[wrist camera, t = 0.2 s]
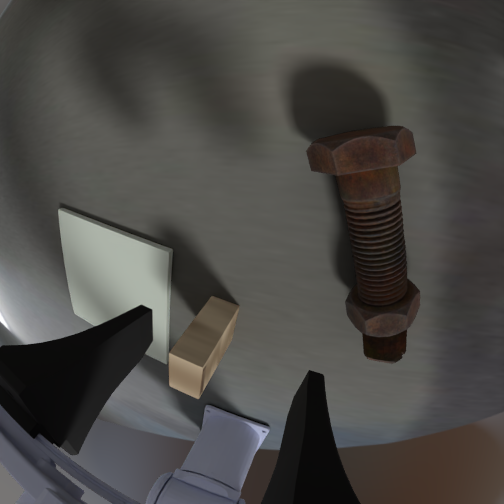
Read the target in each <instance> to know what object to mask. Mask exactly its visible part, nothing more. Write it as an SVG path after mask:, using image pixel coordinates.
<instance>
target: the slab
mask: <svg viewBox="0 0 504 504" xmlns="http://www.w3.org/2000/svg"><path fill="white" fill-rule="evenodd" d="M238 310H239V305H236V304H233V303H230V302H228V301H225V300H222V299H220V298H217V297H214V296H211V297H210V299H209V300H208V301H207V303H206V304H205V305H204V307H203V308H202V309H201V311H200V312H199V313H198V315H197V316H196V317H195V319H194V320H193V321H192V323H191V324H190V325H189V327H188V328H187V329H186V331H185V332H184V333H183V335H182V336H181V337H180V339H179V340H178V341H177V343H176V344H175V345H174V347H173V348H172V349H171V351H170V352H169V386H171V387H173V388H175V389H177V390H179V391H181V392H183V393H186V394H188V395H190V396H192V397H195V398H197V399H199V398H200V396H201V394H202V393H203V391H204V389H205V387H206V386H207V384H208V382H209V380H210V378H211V377H212V375H213V373H214V371H215V369H216V368H217V366H218V364H219V362H220V360H221V359H222V357H223V355H224V353H225V351H226V349H227V348H228V346H229V344H230V342H231V340H232V337H233V332H234V328H235V324H236V319H237V315H238Z"/></svg>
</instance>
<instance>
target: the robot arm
mask: <svg viewBox="0 0 504 504" xmlns="http://www.w3.org/2000/svg"><path fill="white" fill-rule="evenodd" d="M152 342H153V310H152V309H150V308H148V307H146V306H144V305H139V306H137V307H135V308H133V309H131V310H129V311H127V312H125V313H123V314H121V315H119V316H117V317H115V318H113V319H110V320H108V321H106V322H104V323H102V324H100V325H97V326H95V327H93V328H90V329H88V330H85V331H83V332H80V333H77V334H74V335H71V336H68V337H64V338H61V339H56V340H52V341H47V342H43V343H36V344H28V345H7V346H5V345H3V346H1V347H0V463H1V464H2V465H3V466H4V468H5V469H6V470H7V471H8V472H9V474H10V475H11V476H12V477H13V478H14V479H15V480H16V481H17V482H18V484H19V485H20V486H21V487H22V488H23V489H24V490H25V491H24V492H23V494H22V495H21V496H20V498H19V499H18V500H17V501H16V503H15V504H87V503H86V502H84V501H83V500H81V497H82V495H83V494H84V491H83V490H82V489H81V488H79V487H78V486H77V485H75V484H74V483H73V482H71V481H70V480H69V479H68V478H67V477H65V476H64V475H63V474H61V473H60V472H59V471H58V470H57V469H56V464H57V465H58V466H60V467H61V468H62V469H63V470H65V471H66V472H67V473H69V474H70V475H71V476H72V477H74V478H75V479H77V480H78V481H79V482H81V483H82V484H83V485H85V486H86V487H88V488H89V489H91V490H92V491H94V492H95V493H97V494H98V495H100V496H101V497H103V498H105V499H106V500H108V501H109V502H111V503H112V504H140V503H138V502H137V501H135V500H133V499H131V498H129V497H127V496H125V495H124V494H122V493H121V492H119V491H117V490H115V489H114V488H112V487H111V486H109V485H107V484H106V483H104V482H103V481H101V480H100V479H98V478H96V477H95V476H94V475H92V474H91V473H89V472H88V471H86V470H85V469H84V468H82V467H81V466H79V465H78V464H77V463H75V462H74V461H72V460H71V459H70V458H68V457H67V456H66V455H65V454H64V453H62V452H61V451H60V450H59V449H57V448H56V447H55V446H54V445H53V443H54V444H56V445H57V446H58V447H59V448H60V447H62V448H63V449H64V450H65V451H66V452H68V453H69V454H70V455H77V454H79V451H80V449H81V447H82V444H83V443H84V440H85V438H86V436H87V434H88V432H89V431H90V429H91V427H92V425H93V423H94V421H95V420H96V418H97V416H98V415H99V413H100V411H101V410H102V408H103V407H104V405H105V403H106V402H107V400H108V399H109V397H110V396H111V394H112V393H113V392H114V390H115V389H116V388H117V387H118V386H119V384H120V383H121V382H122V381H123V380H124V379H125V377H126V376H127V375H128V374H129V373H130V372H131V370H132V369H133V368H134V367H135V366H136V364H137V363H138V362H139V361H140V360H141V358H142V357H143V356H144V354H145V353H146V351H147V350H148V348H149V346H150V345H151V343H152ZM269 430H270V428H269V427H268V426H265V425H262V424H259V423H256V422H253V421H251V420H248V419H245V418H242V417H239V416H237V415H234V414H231V413H229V412H226V411H223V410H221V409H218V408H216V407H213V406H211V405H206V407H205V411H204V417H203V424H202V430H201V431H200V433H199V435H198V437H197V439H196V441H195V443H194V445H193V447H192V448H191V450H190V452H189V454H188V456H187V458H186V460H185V461H184V463H183V465H182V467H181V469H176V471H175V472H174V473H171V472H168V473H166V474H162V475H161V476H160V477H159V478H158V479H157V481H156V482H155V484H154V485H153V487H152V489H151V490H150V492H149V495H148V497H147V500H146V504H246V503H245V501H244V500H243V499H239V497H240V494H241V492H240V490H241V488H242V485H243V483H244V480H245V478H246V475H247V472H248V470H249V467H250V465H251V462H252V459H253V457H254V454H255V453H256V451H257V450H258V448H259V447H260V445H261V443H262V442H263V440H264V439H265V437H266V435H267V434H268V432H269ZM54 462H55V463H56V464H55V463H54ZM238 499H239V500H238ZM237 501H238V502H237ZM261 504H360V502H359V500H358V498H357V496H356V494H355V493H354V491H353V489H352V487H351V484H350V482H349V480H348V478H347V475H346V473H345V470H344V468H343V465H342V462H341V460H340V457H339V454H338V451H337V447H336V444H335V440H334V436H333V432H332V428H331V423H330V418H329V412H328V407H327V400H326V392H325V382H324V375H323V374H320V373H317V372H314V371H310V370H309V371H308V373H307V375H306V377H305V378H304V380H303V382H302V384H301V385H300V387H299V389H298V391H297V392H296V394H295V396H294V398H293V401H292V404H291V407H290V410H289V413H288V416H287V421H286V425H285V430H284V434H283V439H282V443H281V448H280V452H279V456H278V460H277V464H276V467H275V470H274V472H273V475H272V478H271V481H270V483H269V485H268V488H267V490H266V493H265V495H264V498H263V500H262V502H261Z"/></svg>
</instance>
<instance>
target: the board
mask: <svg viewBox="0 0 504 504" xmlns="http://www.w3.org/2000/svg"><path fill="white" fill-rule="evenodd" d="M58 214H59V225H60V234H61V242H62V250H63V257H64V263H65V269H66V275H67V281H68V286H69V291H70V296H71V301H72V305H73V309H74V313H75V314H76V315H78V316H79V317H81V318H83V319H84V320H86V321H87V322H89V323H91V324H92V325H94V326H97V325H100V324H102V323H104V322H106V321H108V320H110V319H113V318H115V317H117V316H119V315H121V314H123V313H125V312H127V311H129V310H131V309H133V308H135V307H137V306H139V305H144V306H146V307H148V308H150V309H152V310H153V342H152V343H151V345H150V346H149V348H148V350H147V351H146V353H145V354H146V355H148V356H150V357H152V358H154V359H156V360H158V361H160V362H162V363H164V364H167V363H168V362H169V323H170V293H171V272H172V256H173V249H171V248H168V247H165V246H163V245H160V244H157V243H154V242H152V241H149V240H146V239H144V238H141V237H138V236H136V235H133V234H130V233H128V232H125V231H122V230H120V229H117V228H114V227H112V226H109V225H106V224H104V223H101V222H99V221H96V220H93V219H91V218H88V217H86V216H83V215H80V214H78V213H75V212H73V211H70V210H68V209H65V208H63V207H62V208H60V209H58Z"/></svg>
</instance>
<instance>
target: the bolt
mask: <svg viewBox="0 0 504 504" xmlns="http://www.w3.org/2000/svg"><path fill="white" fill-rule="evenodd" d="M306 152H307V156H308V160H309V164H310V168H311V171H314V172H320V173H326V174H332V175H335V176H336V180H337V184H338V188H339V193H340V197H341V198H342V199H343V202H344V208H345V209H346V210H345V214H346V215H347V216H346V219H347V224H348V227H349V228H348V231H349V232H350V233H349V236H350V242H351V248H352V253H353V258H354V261H353V262H354V268H355V273H356V278H357V284H356V285H355V286H354V287H353V289H352V290H351V292H350V293H349V295H348V297H347V299H346V301H345V303H346V310H347V315H348V317H349V319H350V320H351V322H352V323H353V324H354V326H355V327H356V328H357V329H358V330H359V331H360V332H361V333H362V334H363V346H364V354H365V356H366V357H367V359H369V360H374V361H379V362H385V363H396V362H397V361H399V360H400V359H401V358H402V355H403V354H405V352H406V336H407V329H408V328H409V327H410V326H411V324H412V322H413V321H414V319H415V317H416V315H417V312H418V309H419V306H420V291H419V290H418V288H417V287H416V286H415V285H414V284H413V283H412V282H411V281H410V280H409V279H407V267H406V263H407V262H406V251H405V248H406V246H405V240H404V233H403V232H404V230H403V218H402V216H403V214H402V206H401V200H400V188H401V186H400V179H399V173H398V167H397V166H400V165H401V164H403V163H404V162H405V161H407V160H408V159H409V158H411V157H412V156H414V155H415V154H416V148H415V143H414V138H413V133H412V132H411V131H410V130H409V129H407V128H405V127H403V126H387V127H377V128H370V129H364V130H358V131H351V132H346V133H341V134H337V135H333V136H329V137H325V138H320V139H318V140H316V141H314V142H313V143H312V144H311V145H310V146H309V148H308V149H307V151H306Z"/></svg>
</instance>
